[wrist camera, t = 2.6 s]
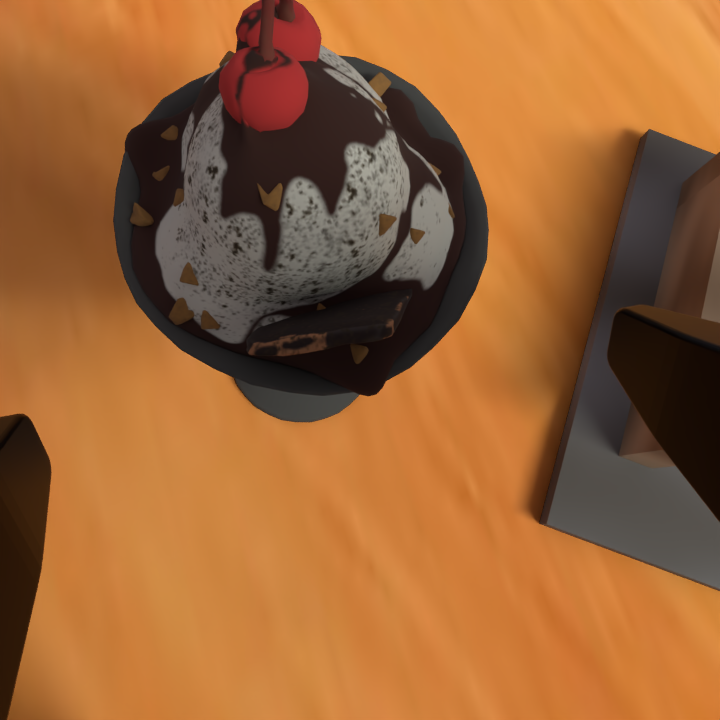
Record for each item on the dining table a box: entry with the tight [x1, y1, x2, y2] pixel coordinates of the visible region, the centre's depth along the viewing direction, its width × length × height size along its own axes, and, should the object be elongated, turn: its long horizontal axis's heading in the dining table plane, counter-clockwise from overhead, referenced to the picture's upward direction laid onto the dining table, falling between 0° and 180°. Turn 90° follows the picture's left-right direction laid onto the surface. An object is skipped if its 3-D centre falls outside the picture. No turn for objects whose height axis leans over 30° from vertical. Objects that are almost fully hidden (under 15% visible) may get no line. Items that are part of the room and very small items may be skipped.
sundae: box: [113, 0, 489, 422], centre depth 13 cm, size 7×7×15 cm
